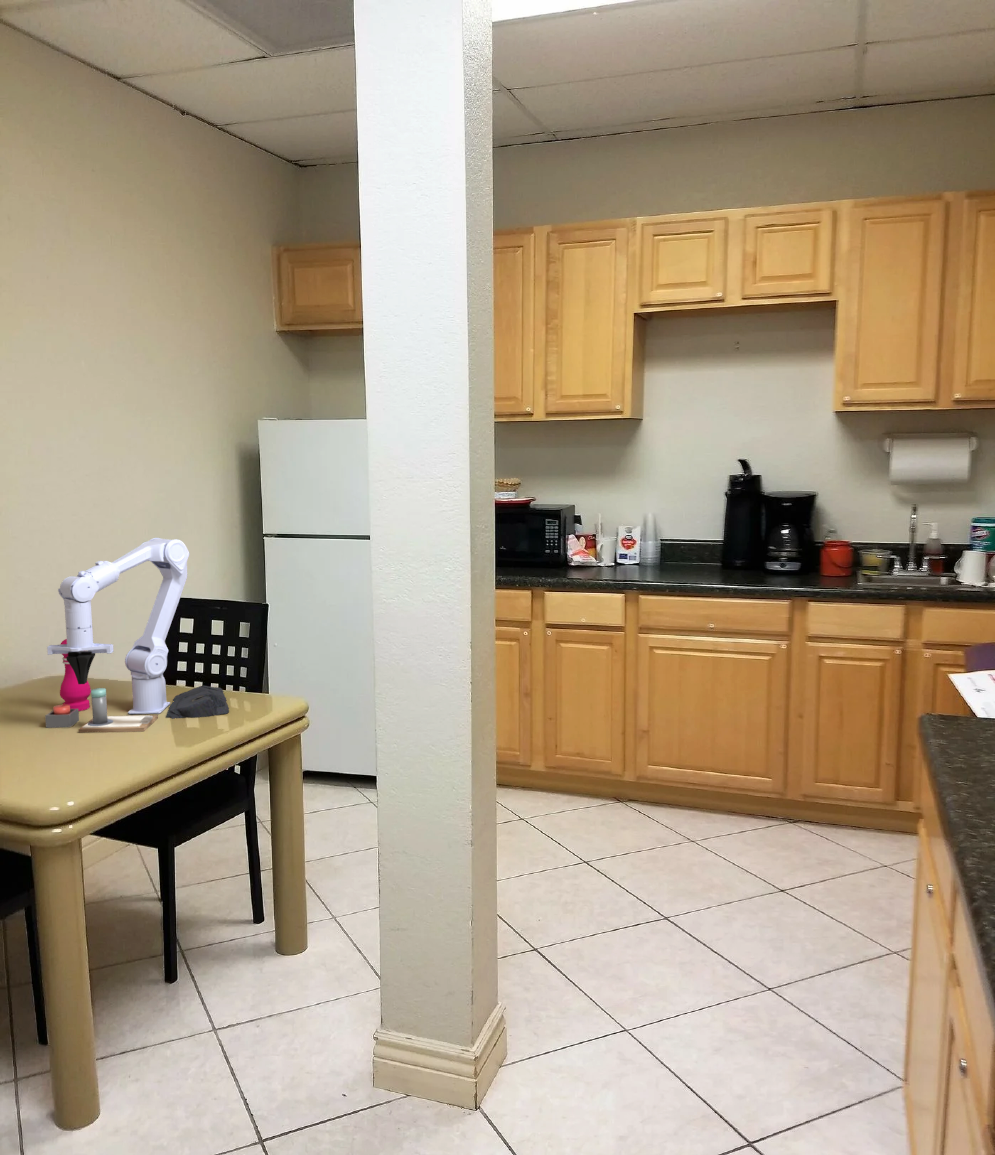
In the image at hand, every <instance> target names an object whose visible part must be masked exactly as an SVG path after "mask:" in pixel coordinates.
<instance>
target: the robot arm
mask: <svg viewBox="0 0 995 1155" xmlns="http://www.w3.org/2000/svg"><path fill="white" fill-rule="evenodd" d="M189 556H190V552H189V549H188V547H187V545H186V544H185V543H184V542H183V541H182V540H180V539H178V538H177V539H176V538H175V539H168V538H160V537H153V538H150V539H149V540H147V541H144V542H142V543H141V544H140V545H138V546H136V547H135V548H133V549H132V550H130V551H128V552H126V553H125V554H124V555H122V556H120V557H119V558H117V559H115V560H113V561H112V562H110V561H109V560H97V561H95V563H94V564H95V565H93V566H92V567H90V568H88V569H86V570H79V571H78V574H77V576H74V575H70V576H67V577H65V578H64V579H63V580H62V581H61V583H60V587H59V588H57V592H58V594H59V596H60V597H61V598H62V600H63V606H64V618H65V632H66V635H65V636H66V639H67V644H62V645H60V644H50V645H48V646H46V647H47V648H46V649H47V651H46V652H47V655H48V656H49V655H51V656H53V655H62V654H68V656H67V657H66V659H67V661H68V662H69V664H70V665H71V667H72V669H73V671H74V673H75V675H76V678H77V681H78V684H85V683H87V681H88V677H89V672H90V669H91V666H92V663H93V661H94V658H95V657H96V654H107V655H108V654H112V653H114V643H113V644H112V643H99V642H98V643H94V634H93V633H94V632H93V629H94V628H93V616H92V615H93V614H92V600H93V599H94V597H95V594H96V593H98V592H100V591H101V590H104V589H105V588H107V587H109V586H111V585H112V584H114V583H116V582H118V580H119V578H120V575H121V574H123V573H125V572H127V571H129V570H132V569H134V568H136V567H137V566H139V565H141V564H144V563H146V562H151V563H152V564H153V566H155V567H156V568H157V570H159V572H160V573H161V576H162V580H161V584H160V586H159V589H158V592H157V595H156V597H155V600H154V603H153V606H152V609H151V612H150V614H149V617H148V620H147V623H146V626H145V628H144V631H143V634H142V636H140V637H139V638H138V639H136V640H135V641H134V642H133V645H132V647H131V649H130V650H129V651H128V652H127V653H126V654H125V658H124V663H125V667H126V669H127V670H128V671H129V672H130V676H131V687H132V688H131V690H132V691H131V692H132V708H131V709H130V710H129V711H127V714H128V715H147V714H148V715H156V714H162V712H163V711H164V710H165V709H166V708H167V707H169V706H170V705H171V702H170V701H167V688H166V687H167V686H166V685H167V684H166V679H165V677H164V672H165V671H166V669H167V666H168V653H169V649H168V647H167V644H166V638H167V636H168V632H169V630H170V627H171V624H172V621H173V619H174V616H175V613H176V610H177V607H178V606H179V602H180V599H181V596H182V593H183V590H184V588H185V585H186V581H187V578H188V559H189Z"/></svg>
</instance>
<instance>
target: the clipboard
mask: <svg viewBox="0 0 995 1155" xmlns="http://www.w3.org/2000/svg"><path fill="white" fill-rule="evenodd" d="M107 719H108V722H107V723H104V724H93V718H92V719H90V720H89V721H87V722H86V723H85V724H83V725H82V726H81V727H80V728H78V733H79V734H81V733H82V734H83V733H84V734H85V733H87V734H88V733H89V734H90V733H123V732H124V733H125V732H127V733H128V732H129V733H130V732H131V733H132V732H133V733H134V732H146V730H148V728H149V727H151V725H153V724H154V723H155V722H156V721H157V719H159V715H158V714H148V715H147V714H131V715H107Z"/></svg>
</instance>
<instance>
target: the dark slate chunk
mask: <svg viewBox="0 0 995 1155" xmlns="http://www.w3.org/2000/svg"><path fill="white" fill-rule="evenodd" d="M172 700H173V701H174V702H171V703H172V704H171V703H170V704H169V706H170V707H169V706H168V709H169V710H168V709H167V710H168V711H167V713H166V715H165V719H171V720H173V719H174V720H175V718H176V719H187V718H188V719H196V718H197V719H199V718H207V717H208V718H210V717H214V716H220V715H227V714H229V712H230V707H229V705H228V703H227V697H226V696H225V693H224V690H223V688H221V687H217V686H208V685H200V686H197V687H194V688H191V689H190V690H187V691H184V692H181V693H179V694H177V695H175V696H174V697H173V699H172Z"/></svg>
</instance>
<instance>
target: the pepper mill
mask: <svg viewBox="0 0 995 1155" xmlns="http://www.w3.org/2000/svg"><path fill="white" fill-rule="evenodd" d="M62 644H67V638H65V639H63V640H62V641H61V642H60V644H59V645H62ZM61 655H62V656H63V657H62V658H61V659H62V664H64V677H63V680H62V681H61V682H62V683H61V685H60V688H59V696H60V698H62V700H63V703H62V705H63V704H67V705H70V709H78V711H79V712H83V711H86V710H88V709H89V708H90V700H89V699H88V698H89V697H90V696H91V690H92V689H91V684H90V683H89V681H88V680H87V683H85V684H78V681H77V678H76V675H75V673H74V671H73V669H72V667H71V665H70V664H69V662H68V661H67V659H66V657H67V656H68V654H61Z"/></svg>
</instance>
